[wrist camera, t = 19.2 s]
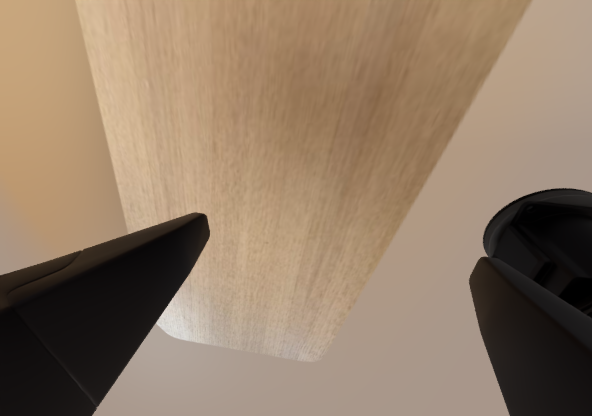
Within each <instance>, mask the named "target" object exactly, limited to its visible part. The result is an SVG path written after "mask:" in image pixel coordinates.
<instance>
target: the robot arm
mask: <svg viewBox="0 0 592 416" xmlns="http://www.w3.org/2000/svg"><path fill="white" fill-rule="evenodd" d="M531 206H533V207H532V208H531V209H529V210H527V209H528V208H529V207H531ZM209 237H210V230H209V225H208V219H207V216H206V215H205V214H203V213H196V212H195V213H191V214H188V215H185V216H182V217H179V218H176V219H173V220H170V221H167V222H164V223H161V224H158V225H155V226H152V227H149V228H146V229H143V230H140V231H137V232H134V233H131V234H128V235H126V236H122V237H119V238H116V239H113V240H110V241H107V242H104V243H101V244H98V245H95V246H92V247H90V248H86V249H84V250H83V251H78V252H74V253H71V254H68V255H65V256H62V257H59V258H56V259H53V260H50V261H47V262H44V263H41V264H37V265H34V266H30V267H27V268H24V269H21V270H17V271H14V272H11V273H7V274H4V275H0V416H92V415H93V413H94V412H95V411H96V409H97V407H98V406H99V404H100V403H101V402H102V400H103V399H104V397H105V396H106V394H107V393H108V391H109V390H110V388H111V387H112V386H113V384H114V383H115V381H116V380H117V378H118V376H119V375H120V374H121V373H122V371H123V370H124V368H125V367H126V365H127V364H128V362H129V361H130V359H131V358H132V357H133V355H134V354H135V352H136V351H137V349H138V348H139V346H140V345H141V343H142V342H143V341H144V339H145V338H146V336H147V335H148V333H149V332H150V330H151V329H152V328H153V326H154V325H155V323H156V322H157V320H158V319H159V317H160V316H161V314H162V313H163V312H164V310H165V309H166V307H167V306H168V304H169V303H170V301H171V300H172V298H173V297H174V296H175V294H176V293H177V291H178V290H179V288H180V287H181V285H182V284H183V283H184V281H185V280H186V278H187V277H188V275H189V274H190V272H191V270H192V269H193V267H194V265H195V263H196V261H197V260H198V258H199V256H200V254H201V252H202V250H203V249H204V247H205V245H206V243H207V241H208V239H209ZM469 284H470V289H471V293H472V298H473V302H474V306H475V311H476V315H477V319H478V323H479V328H480V331H481V335H482V338H483V341H484V344H485V347H486V349H487V352H488V355H489V358H490V361H491V364H492V366H493V369H494V372H495V375H496V378H497V381H498V383H499V386H500V389H501V392H502V395H503V397H504V400H505V403H506V406H507V409H508V412H509V414H510V416H592V207H586V206H577V205H568V204H559V203H550V202H541V201H526V202H524V203H522V204H521V205H520V207H519V209H518V211H517V213H516V214H515V216H514V218H513V220H512V222H511V224H510V225H509V227H507V229H506V230H505V232H504V234H503V236H502V238H501V240H500V241H499V243H498V245H497V247H496V249H495V251H494V255H493V256H492V258H490V257H481V258H480V259H479V260H478V262H477V264H476V266H475V268H474V270H473V272H472V274H471V276H470V279H469Z"/></svg>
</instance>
